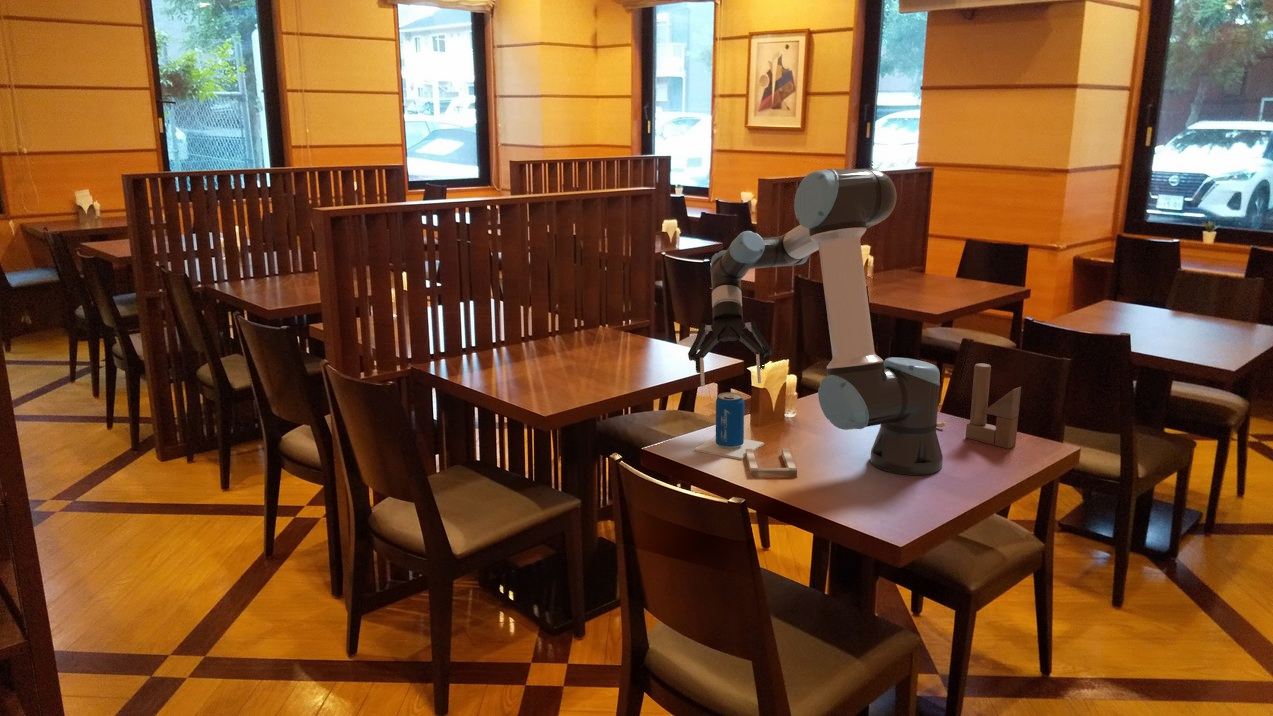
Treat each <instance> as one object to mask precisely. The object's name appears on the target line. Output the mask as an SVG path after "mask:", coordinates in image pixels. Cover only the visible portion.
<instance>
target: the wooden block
mask: <svg viewBox="0 0 1273 716" xmlns="http://www.w3.org/2000/svg"><path fill="white" fill-rule="evenodd" d="M991 371H992V366H991V364H989V363H988V364H987V363H982V362H981V363H976V364H975V365H974V370H973V380H972V382H973V383H972V393H971V406H970V407H971V408H970V418H969V420H970V421H969V422H968V423H966V430H965V438H966V439H969V440H973V441H978V442H980V443H981V442H982V443H985V444H988V445H994V446H996V447H1000V448H1003V449H1007V450H1008V449H1011V448H1013V447H1016V444H1017V434H1018V423H1019V414H1020V413H1019V412H1020V403H1021V390H1022V386H1019V387H1016V388H1013V389H1012V390H1011V391H1009V392H1008V393H1006V394H1005V395H1004V396H1002V397H1001V398H1000V399H998V400H997V401H995V402H994V403H992V404H991V405H988V404H989V395H990V382H991ZM988 415H991V416H995V417H996V419H995V421H996V422H995V425H993V424H989V423H987V420H988V419H987V417H988Z"/></svg>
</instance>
